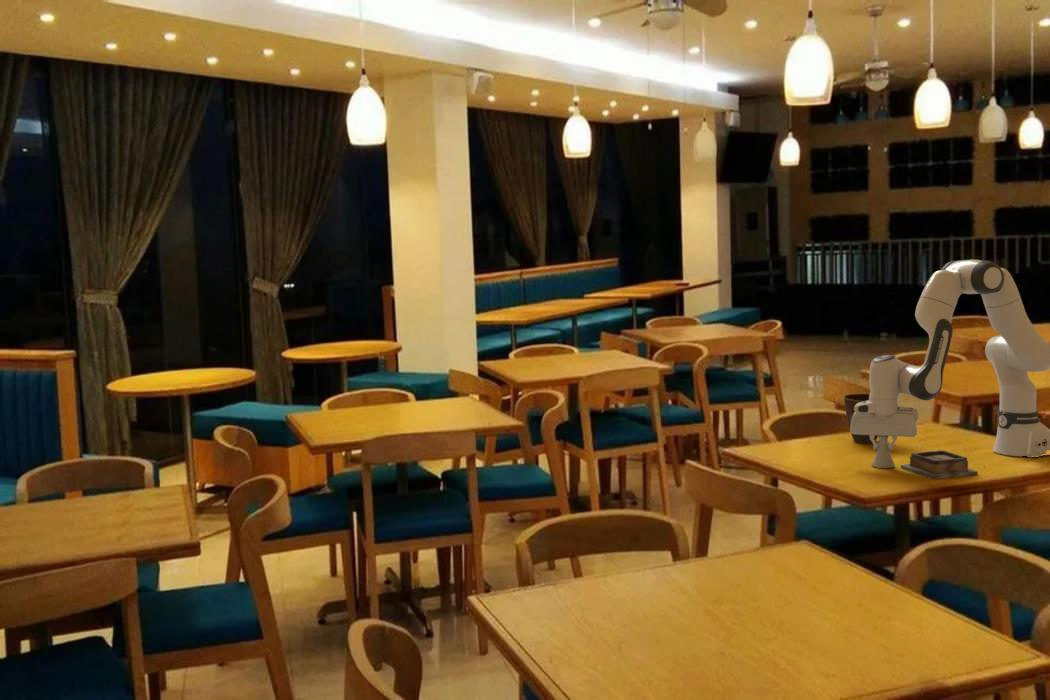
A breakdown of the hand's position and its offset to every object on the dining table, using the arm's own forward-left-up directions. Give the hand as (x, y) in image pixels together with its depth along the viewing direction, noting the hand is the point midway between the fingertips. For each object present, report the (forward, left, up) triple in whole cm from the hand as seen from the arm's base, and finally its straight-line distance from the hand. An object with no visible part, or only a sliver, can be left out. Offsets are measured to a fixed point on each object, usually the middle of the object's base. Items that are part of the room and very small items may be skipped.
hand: (883, 449), depth 337 cm
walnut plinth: (-12, +12, -6) cm, 18 cm away
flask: (0, 0, -6) cm, 6 cm away
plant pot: (-17, -34, -6) cm, 38 cm away
